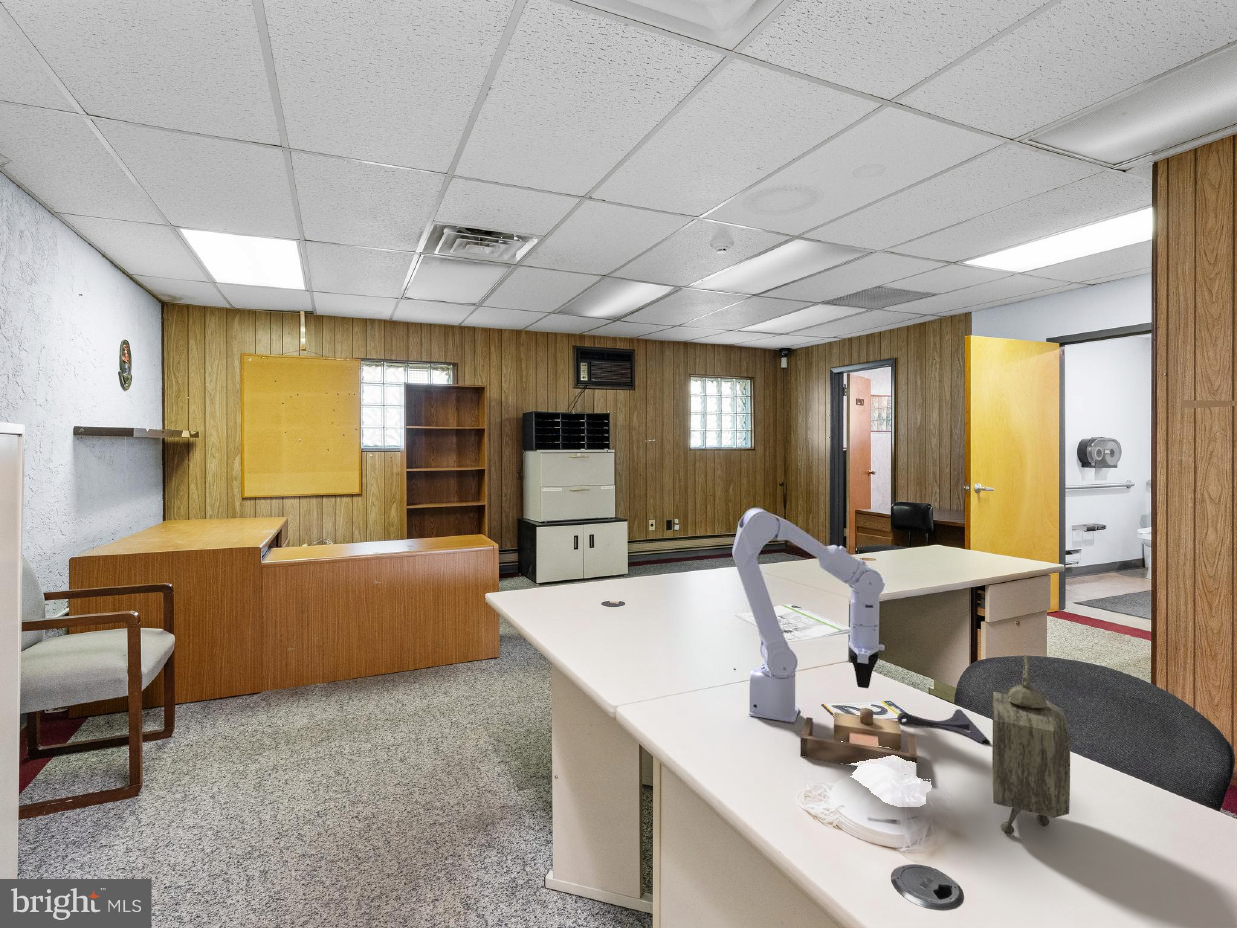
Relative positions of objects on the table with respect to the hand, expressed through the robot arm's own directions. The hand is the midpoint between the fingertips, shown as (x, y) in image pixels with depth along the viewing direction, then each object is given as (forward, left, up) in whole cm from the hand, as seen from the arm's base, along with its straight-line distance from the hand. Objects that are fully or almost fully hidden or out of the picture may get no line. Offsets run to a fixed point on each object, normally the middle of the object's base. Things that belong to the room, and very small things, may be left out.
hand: (863, 686), depth 132 cm
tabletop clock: (+24, -31, -6) cm, 40 cm away
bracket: (+14, +1, -7) cm, 16 cm away
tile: (+1, -17, -7) cm, 18 cm away
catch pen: (0, -18, -6) cm, 19 cm away
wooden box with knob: (+1, -11, -7) cm, 13 cm away
